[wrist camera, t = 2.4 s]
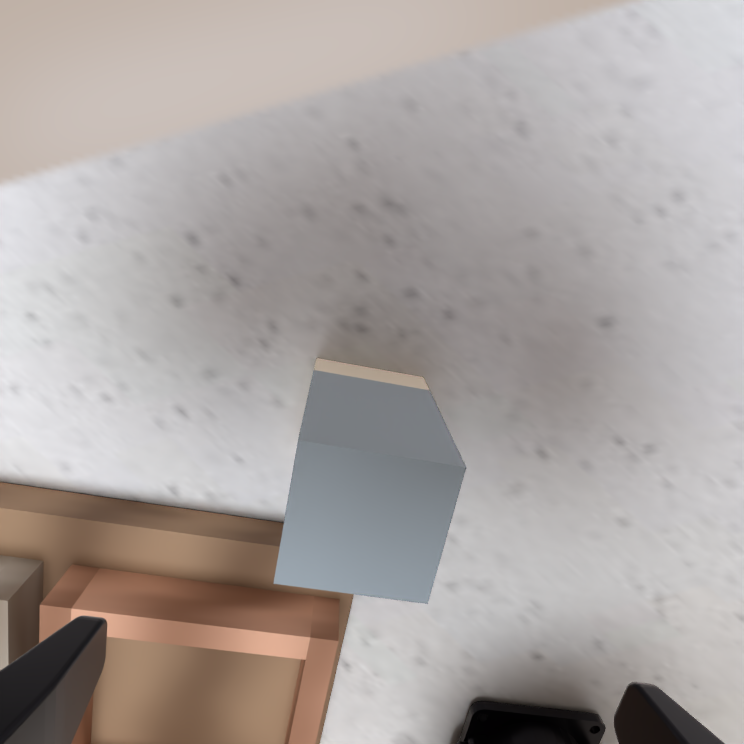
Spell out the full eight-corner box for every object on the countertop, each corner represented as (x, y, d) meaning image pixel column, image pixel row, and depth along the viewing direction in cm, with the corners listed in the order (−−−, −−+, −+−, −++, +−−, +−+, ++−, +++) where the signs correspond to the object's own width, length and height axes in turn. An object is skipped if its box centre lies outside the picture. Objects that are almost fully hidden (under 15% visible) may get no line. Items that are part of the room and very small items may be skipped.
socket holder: (360, 534, 20) (363, 596, 17) (305, 778, 24) (299, 867, 21) (-236, 448, 18) (-368, 500, 15) (-189, 732, 22) (-285, 824, 19)
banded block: (423, 376, 18) (466, 467, 12) (400, 472, 20) (427, 604, 13) (316, 357, 18) (298, 439, 11) (299, 456, 19) (273, 583, 13)
